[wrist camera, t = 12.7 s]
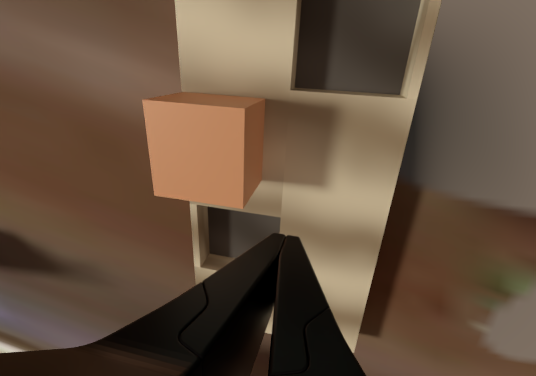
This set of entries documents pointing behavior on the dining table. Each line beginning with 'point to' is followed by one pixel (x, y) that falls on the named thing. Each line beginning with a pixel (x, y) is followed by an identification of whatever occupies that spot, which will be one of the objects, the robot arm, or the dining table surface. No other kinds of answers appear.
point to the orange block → (205, 146)
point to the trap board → (311, 127)
